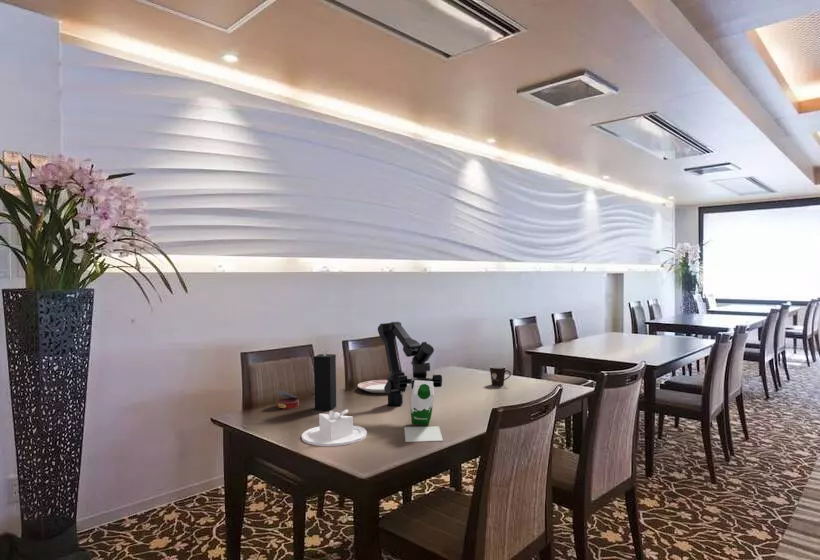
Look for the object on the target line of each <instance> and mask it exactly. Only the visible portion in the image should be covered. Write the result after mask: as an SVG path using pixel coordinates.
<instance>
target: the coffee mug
mask: <svg viewBox="0 0 820 560" xmlns="http://www.w3.org/2000/svg"><path fill="white" fill-rule="evenodd" d="M489 372H490V373H489V374H490V379H491V380H490V381H491V386H493V387H503V386H504V384H505V381H506V380H508V379H509V378H510V377H511V375H512V374H511V371H510V370H508V369H506V366H505V365H490V366H489ZM506 372H507V373H509V375H508V376H507V377H506V378H505V376H506V375H505V374H506Z"/></svg>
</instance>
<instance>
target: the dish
mask: <svg viewBox="0 0 820 560" xmlns="http://www.w3.org/2000/svg"><path fill="white" fill-rule="evenodd" d="M347 413H349V409H348V408H347V409H344V410H342V411H341V412H337V411H336V412H335V411H334V410H329V411H328V413H319V415H318V419H319V420H318V422H319V424H318V426H315V427H312V428H308V429H306V430H305V431H304V432H303V433H302V434H301V439H302V442H303V443H305V444H308V445H313V446H317V447H341V446H346V445H352V444H355V443H356V444H357V443H358V442H361V441H363V440H364V439H365V438H366V437H367V435H368V431H367V430H366V428H365V427H362V426H359V425H354V416H351V415H345V414H347Z"/></svg>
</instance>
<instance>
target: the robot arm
mask: <svg viewBox="0 0 820 560" xmlns="http://www.w3.org/2000/svg"><path fill="white" fill-rule="evenodd" d="M377 332H378V336H379V338H380V339H381V341H382V342H383V343H384V349H385V354H386V360H387V364H388V365H387V366H388V375H387V377H386V380H387V381H388V382H387V383H386V385H385V387H384V390H385V392H387V393H386V394H387V404H386V406H388V407H390V406H391V407H402V405H403V404H404V394H403V392H405V390H406V389H407V387H408V386H407V384H408V385H411V390H413V386H414V381H415V380H421V381H433V386H434V388H441V387H442V386H443V376H442V374H432V377H427V376H428V375H427V373H428V372H430V371H431V363H430V362H428V361H429V359H431V356H433V354H434V351H435V349H434V347H433V346H432V345H431V344H430V343H428V342H427V341H422V342H421V343H420V342H418V341H417V340H416V339H413V338H412V337H411V336H410V335H409V333H408V331H406V330H405V328H404V327H403V326H402V322H400V321H391V322H386V323H380V324H379V326H377ZM395 338H396V339H398V340H399V342H400V343H401V345H402V351H403V353H404V355H405V356H406V357H408V358H410V357H412V358H411V363H410V365H412V377H411V378H408V375H406V374H405V372H404V371H401V369H400V365H399V361H398V354H397V348H396V344H395Z"/></svg>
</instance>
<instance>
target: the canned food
mask: <svg viewBox="0 0 820 560" xmlns="http://www.w3.org/2000/svg"><path fill="white" fill-rule="evenodd" d="M277 396H279V397H282V399H278V400H277V408H278V409H279V408H283V409H282V410H291V409H290V408H293V409H296V408H295V407H297V408H299V407H298V406H300V400H299V397H298V396H296V395H294V394H292V393H289V392H286V391H284V390H278V391H277Z"/></svg>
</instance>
